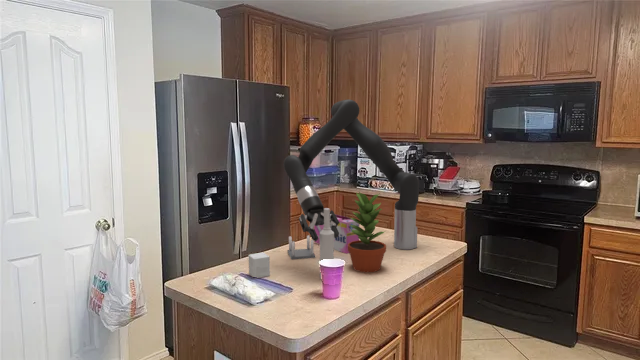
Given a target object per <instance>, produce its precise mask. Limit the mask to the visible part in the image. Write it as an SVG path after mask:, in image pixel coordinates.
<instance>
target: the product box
mask: <svg viewBox="0 0 640 360" xmlns="http://www.w3.org/2000/svg"><path fill="white" fill-rule="evenodd" d="M247 257H248V274H249V276H251V277H252V278H253V277H257V278H256V279H260V278H266V277H270V276H271V271H270V263H271V261H270V256H269V255H268V254H266V253H265V252H258V253H251V254H248V256H247Z"/></svg>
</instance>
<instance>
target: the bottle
mask: <svg viewBox="0 0 640 360" xmlns="http://www.w3.org/2000/svg"><path fill="white" fill-rule="evenodd" d="M330 211H331V209H330V208H328V207H324V228H323V230H322V231H321V232H320V233H319V235H320V244H319V262H320V261H321V260H323V259H334V256H335V253H334V252H335V250H334V232H333V231H332V230H331V228H330ZM319 279H320V280H321V273H320V272H319Z"/></svg>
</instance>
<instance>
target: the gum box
mask: <svg viewBox="0 0 640 360" xmlns="http://www.w3.org/2000/svg"><path fill="white" fill-rule="evenodd" d="M334 214H335V213H334ZM335 215H336V217H337V219H338V221H339V224H338V226H337V227H336V228H337V230H338V232H339V236H338V237H337V238H334V251H338V252H341V253H344V254H350V252H349V251H348V244H349V243H350V242H352V241H357V240H360V239H359V238H358V237H359V236H358V235H356V234H355V233H353V232H352V230H356V229H355V228H353V227H351V226H350V225H356V226H358V227H360V224H359V223H357V222H355V221H353V220H352V219H350V218H351V217H348V216H345V215H340V214H335ZM330 225H331V224H330ZM323 228H324V225H318V226H315V225H314V229H315V231H316V233H317V236H318V240H317V241H314V240H313V241H314V244H318V245H320V235H319V233H320V232H321V231H322V230H323ZM351 229H352V230H351Z"/></svg>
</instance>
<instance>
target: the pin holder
mask: <svg viewBox="0 0 640 360" xmlns="http://www.w3.org/2000/svg"><path fill="white" fill-rule="evenodd" d="M310 239H311V235H310V234H309V235H306V248H299V249H297V248H295V247H296V244H295V243H296V241H293V238H292V236H290V235H289V236H288V249H287V250H286V251H287V254H288V256H289V258H290V260H301V259H315V258H316V254H315V253H314V246H315V245H314V244H315V242H314V240H313V239H311V240H310Z"/></svg>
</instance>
